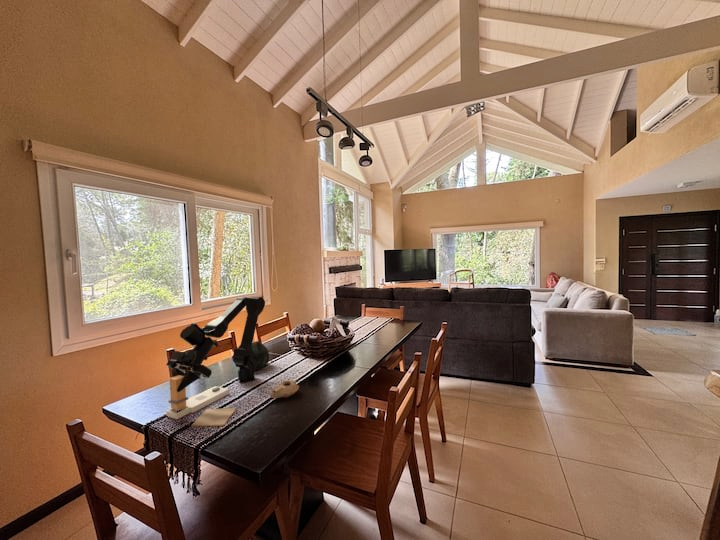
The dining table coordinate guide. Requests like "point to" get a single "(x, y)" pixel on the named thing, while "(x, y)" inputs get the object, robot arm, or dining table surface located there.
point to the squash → (260, 354)
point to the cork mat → (214, 417)
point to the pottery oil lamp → (284, 389)
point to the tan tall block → (177, 393)
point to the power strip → (199, 401)
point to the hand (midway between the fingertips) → (174, 390)
